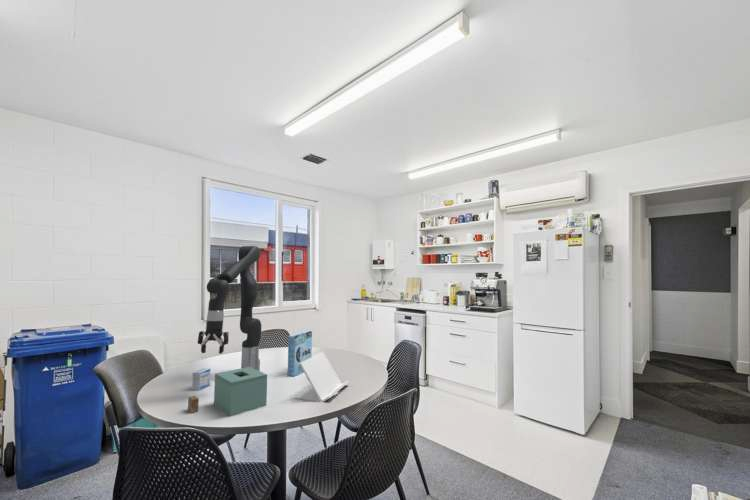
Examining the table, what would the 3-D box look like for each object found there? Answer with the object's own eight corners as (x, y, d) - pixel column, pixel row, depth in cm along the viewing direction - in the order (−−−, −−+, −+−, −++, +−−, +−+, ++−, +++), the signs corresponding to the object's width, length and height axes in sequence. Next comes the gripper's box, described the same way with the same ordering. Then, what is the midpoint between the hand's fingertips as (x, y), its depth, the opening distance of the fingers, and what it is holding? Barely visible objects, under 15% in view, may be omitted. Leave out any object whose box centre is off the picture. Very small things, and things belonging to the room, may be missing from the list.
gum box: (294, 376, 191) (295, 336, 193) (286, 375, 193) (287, 335, 195) (311, 368, 210) (312, 331, 211) (304, 367, 211) (305, 330, 213)
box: (248, 395, 162) (249, 366, 163) (266, 405, 149) (267, 374, 150) (213, 404, 150) (215, 373, 151) (230, 416, 138) (231, 382, 139)
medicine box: (199, 390, 168) (200, 372, 169) (191, 389, 169) (192, 372, 170) (210, 385, 176) (210, 368, 176) (202, 384, 177) (203, 368, 177)
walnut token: (194, 408, 146) (194, 395, 146) (198, 411, 142) (198, 398, 143) (187, 409, 144) (188, 396, 144) (191, 413, 140) (192, 399, 141)
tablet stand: (294, 398, 158) (295, 362, 159) (317, 382, 182) (318, 351, 183) (329, 403, 153) (330, 365, 154) (349, 386, 177) (349, 353, 178)
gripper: (232, 319, 170) (229, 352, 167) (205, 318, 170) (201, 351, 168) (225, 320, 162) (222, 355, 160) (196, 319, 163) (193, 354, 160)
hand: (212, 353), depth 164 cm, fingers open, 8 cm apart
